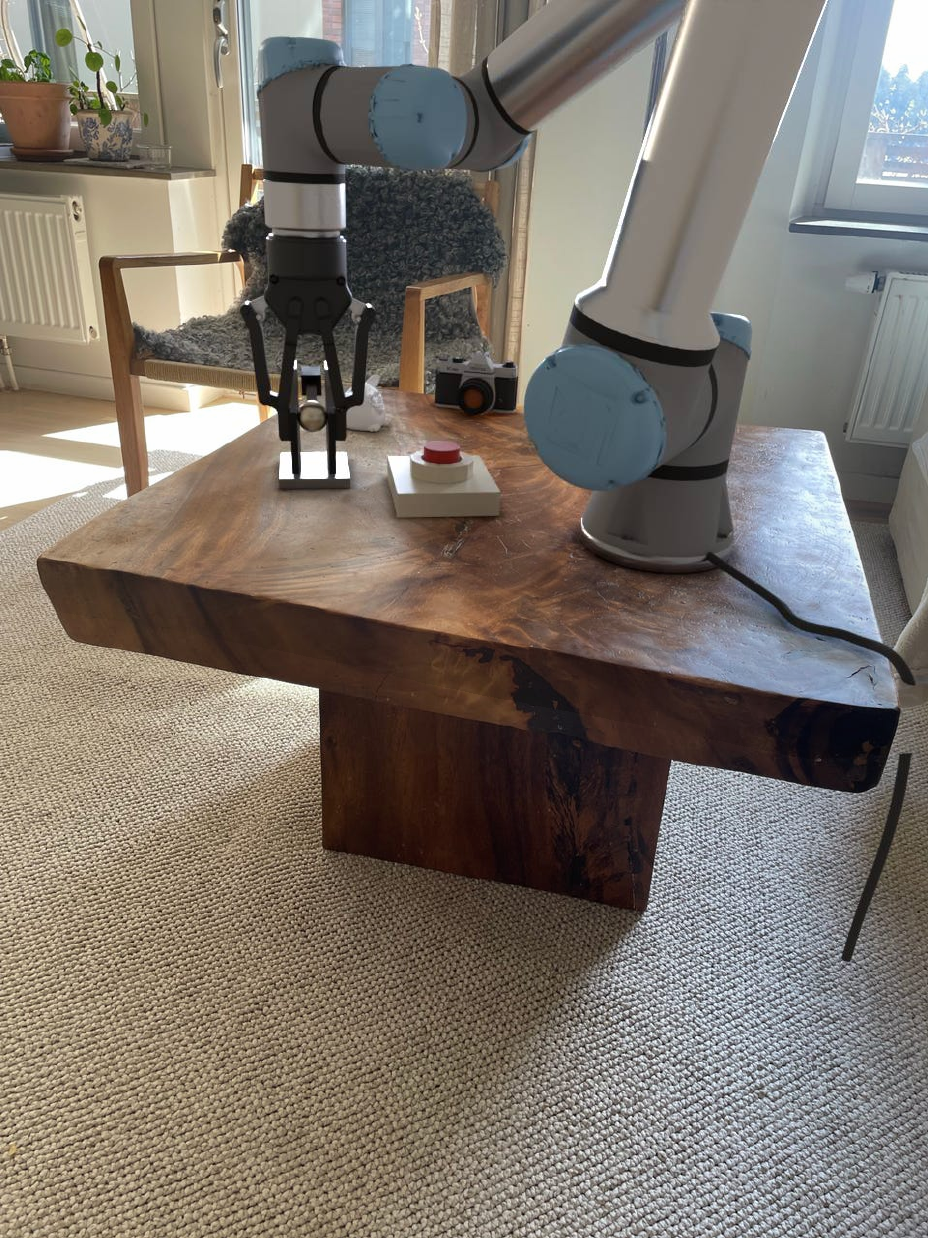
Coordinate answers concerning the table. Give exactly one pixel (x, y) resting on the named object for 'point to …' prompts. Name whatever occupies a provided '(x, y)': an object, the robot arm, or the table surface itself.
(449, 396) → the camera
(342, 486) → the grey metal frame
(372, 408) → the figurine
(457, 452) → the stop button
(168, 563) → the table surface
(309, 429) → the lever
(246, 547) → the table surface
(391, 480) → the control block
